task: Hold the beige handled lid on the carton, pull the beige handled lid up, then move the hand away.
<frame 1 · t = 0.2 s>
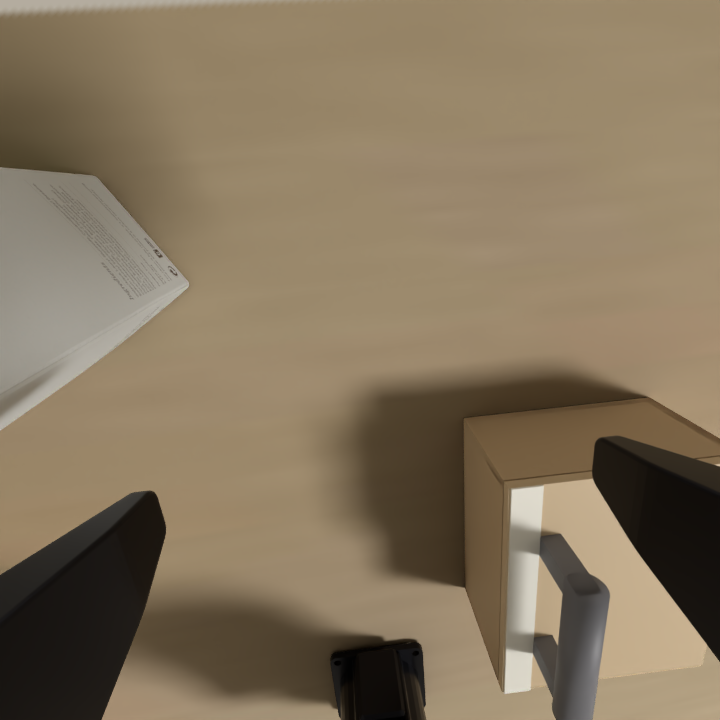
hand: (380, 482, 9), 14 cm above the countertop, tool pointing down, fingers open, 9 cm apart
carton: (550, 500, 27), on the countertop
skincare box: (91, 285, 21), on the countertop
beige handled lid: (638, 617, 19), point 8 cm above the countertop, hinge at 0.0°
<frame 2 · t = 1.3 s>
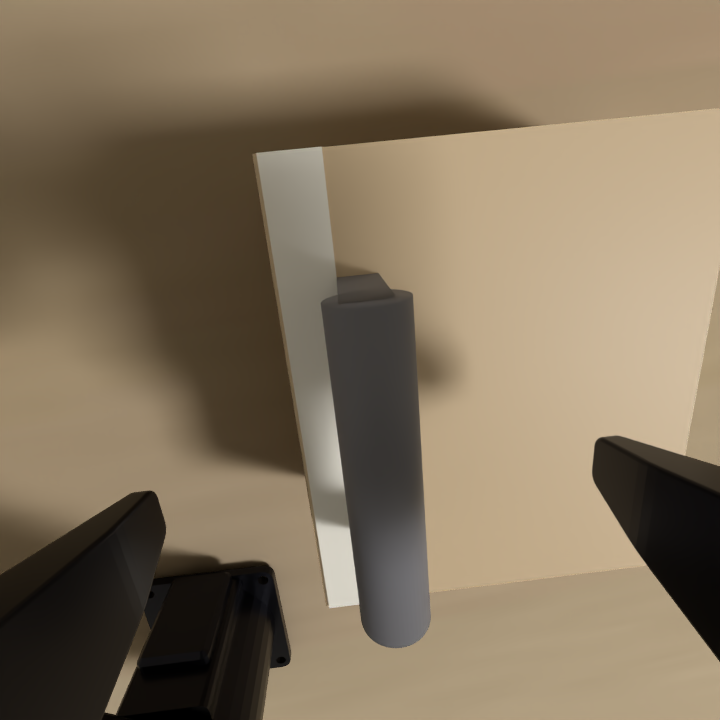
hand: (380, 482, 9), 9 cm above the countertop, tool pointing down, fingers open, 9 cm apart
beige handled lid: (525, 428, 10), point 8 cm above the countertop, hinge at 0.0°
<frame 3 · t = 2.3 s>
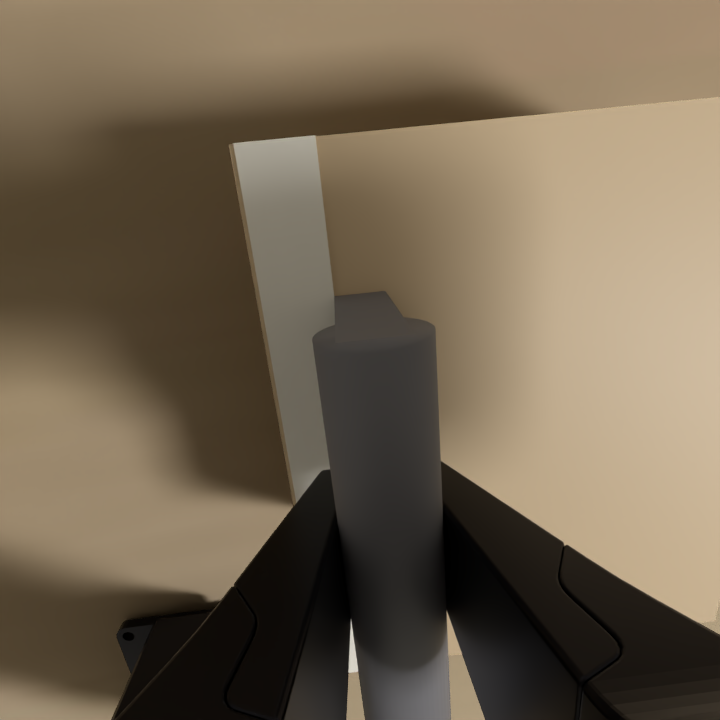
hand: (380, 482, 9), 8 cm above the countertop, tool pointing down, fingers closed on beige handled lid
beige handled lid: (566, 481, 8), point 8 cm above the countertop, hinge at -0.1°, touching gripper
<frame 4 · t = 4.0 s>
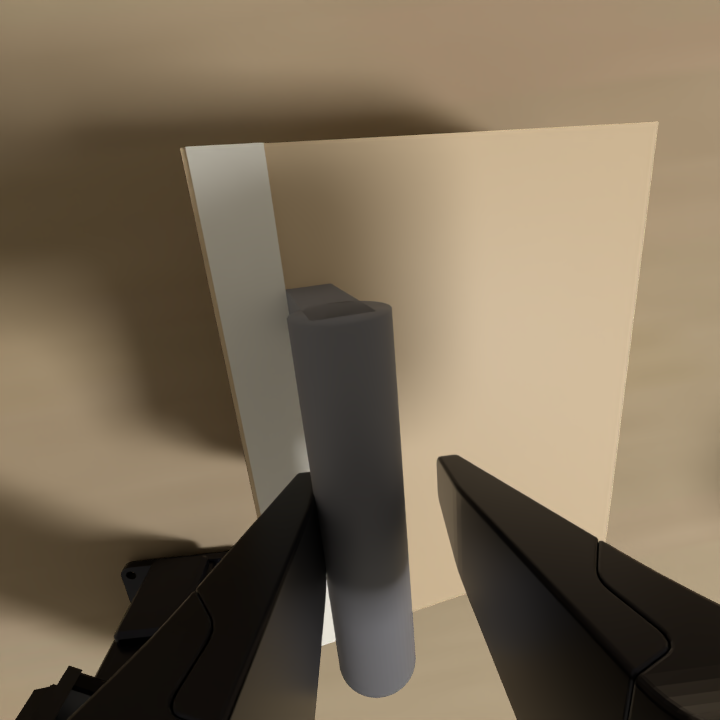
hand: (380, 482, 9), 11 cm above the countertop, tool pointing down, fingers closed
beige handled lid: (491, 436, 10), point 9 cm above the countertop, hinge at 13.6°, touching gripper
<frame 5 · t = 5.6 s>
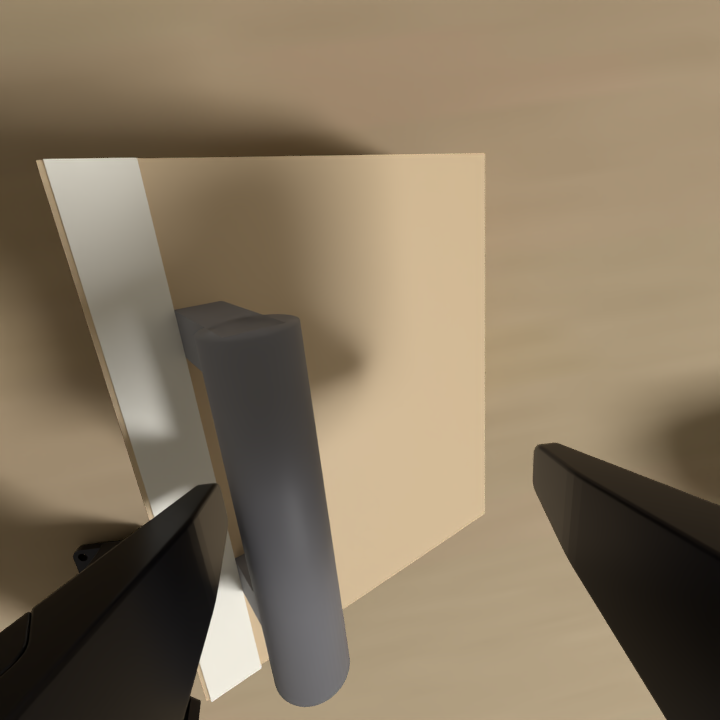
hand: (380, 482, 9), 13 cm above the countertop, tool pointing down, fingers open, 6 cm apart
beige handled lid: (390, 430, 11), point 11 cm above the countertop, hinge at 31.4°
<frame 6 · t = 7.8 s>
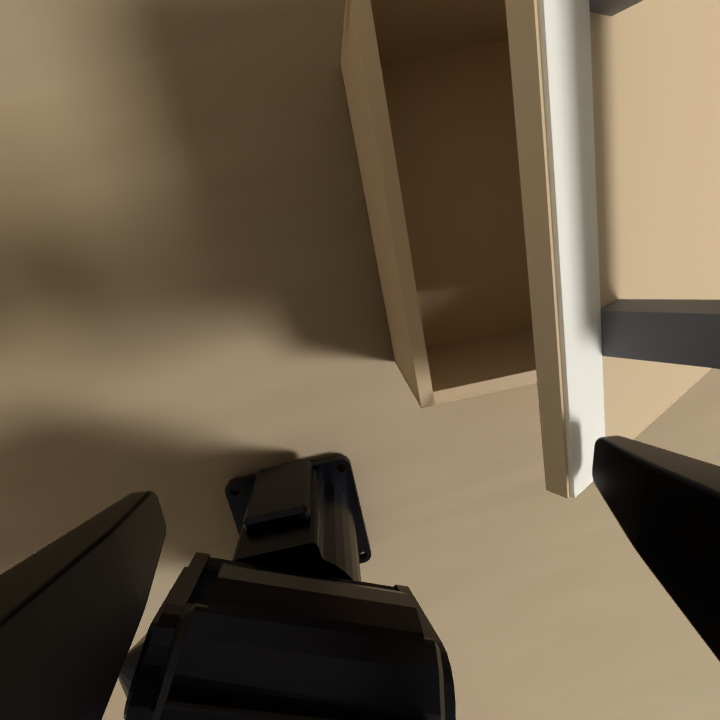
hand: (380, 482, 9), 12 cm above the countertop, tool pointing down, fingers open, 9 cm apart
carton: (488, 202, 19), on the countertop
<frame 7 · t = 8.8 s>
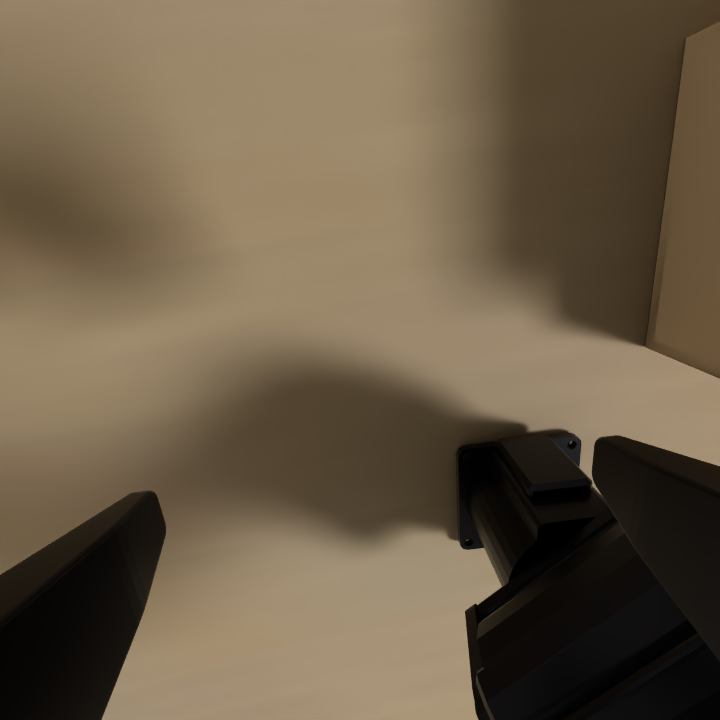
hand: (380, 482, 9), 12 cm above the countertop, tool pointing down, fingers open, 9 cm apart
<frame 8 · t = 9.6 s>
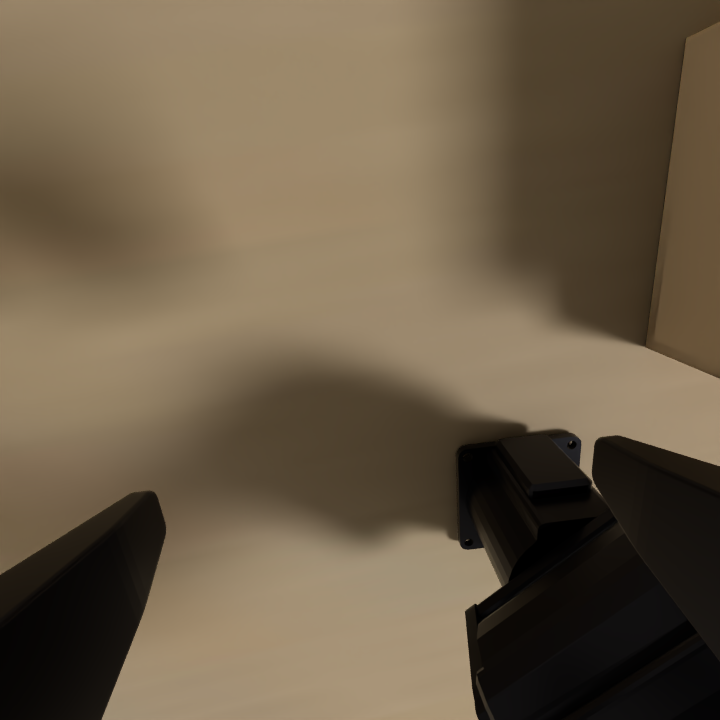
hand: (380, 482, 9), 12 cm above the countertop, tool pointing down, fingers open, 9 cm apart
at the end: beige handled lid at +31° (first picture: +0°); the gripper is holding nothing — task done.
